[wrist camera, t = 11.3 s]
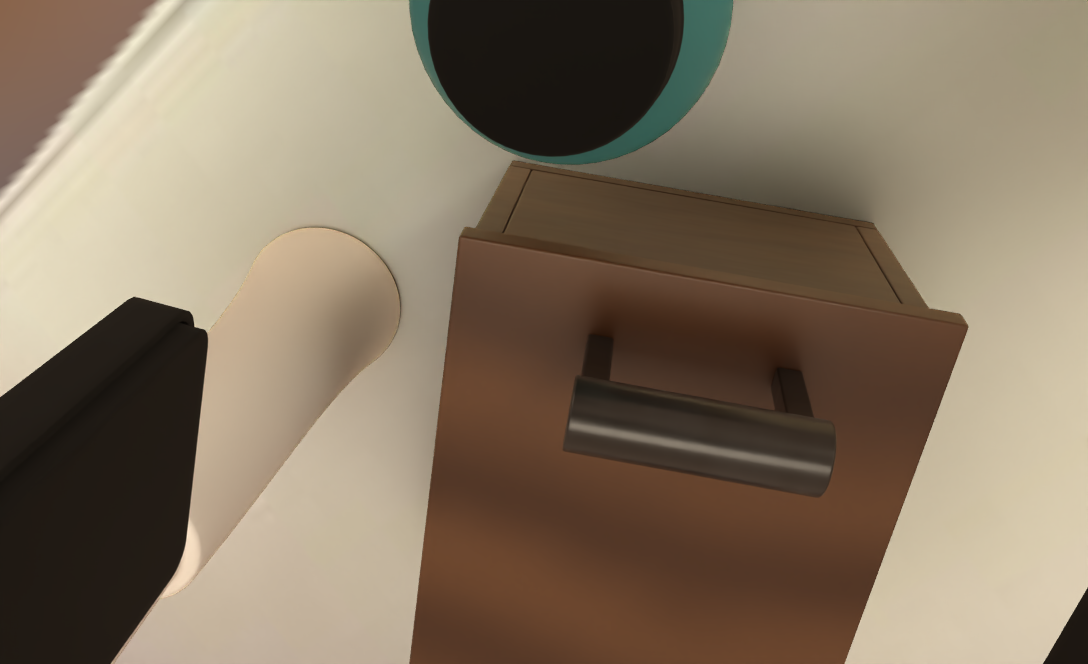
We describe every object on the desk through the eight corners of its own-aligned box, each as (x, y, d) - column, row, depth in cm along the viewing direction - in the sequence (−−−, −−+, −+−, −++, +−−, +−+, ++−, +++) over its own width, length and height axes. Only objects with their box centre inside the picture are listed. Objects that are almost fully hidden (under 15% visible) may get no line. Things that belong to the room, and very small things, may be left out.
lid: (464, 225, 27) (419, 308, 22) (962, 313, 26) (1028, 417, 21) (409, 684, 34) (367, 823, 29) (799, 759, 33) (822, 913, 29)
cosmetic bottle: (257, 366, 41) (-127, 824, 21) (241, 222, 38) (-212, 583, 18) (404, 374, 40) (156, 852, 20) (397, 229, 38) (107, 607, 18)
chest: (512, 159, 36) (464, 246, 28) (874, 222, 36) (945, 332, 27) (461, 518, 43) (410, 683, 34) (769, 575, 42) (799, 758, 33)
